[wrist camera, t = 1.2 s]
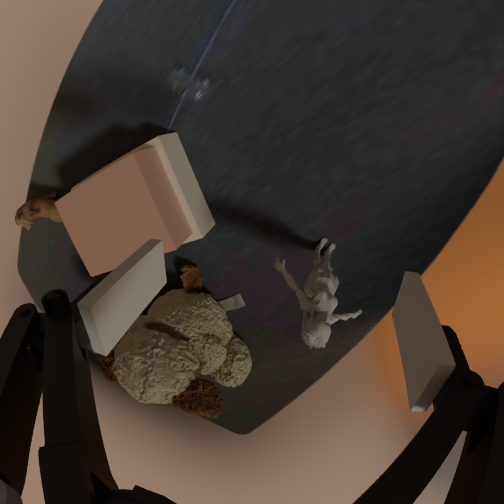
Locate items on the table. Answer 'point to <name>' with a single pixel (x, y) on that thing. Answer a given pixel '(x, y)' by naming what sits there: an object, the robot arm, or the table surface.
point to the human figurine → (317, 298)
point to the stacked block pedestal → (136, 205)
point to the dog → (181, 350)
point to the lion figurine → (37, 211)
